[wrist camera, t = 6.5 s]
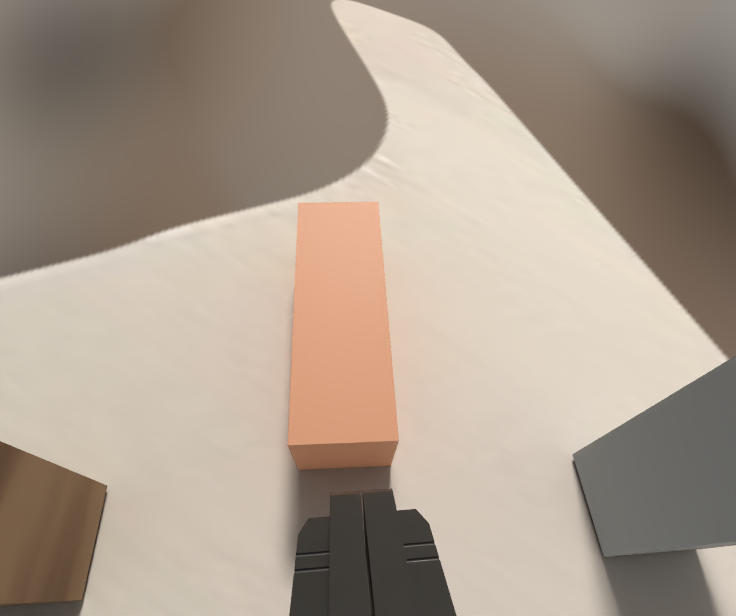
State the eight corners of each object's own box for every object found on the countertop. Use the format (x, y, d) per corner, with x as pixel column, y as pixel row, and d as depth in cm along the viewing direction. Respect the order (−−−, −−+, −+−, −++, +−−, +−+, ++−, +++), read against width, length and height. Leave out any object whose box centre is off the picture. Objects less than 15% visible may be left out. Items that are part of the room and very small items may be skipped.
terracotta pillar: (287, 445, 16) (298, 202, 22) (298, 469, 20) (305, 253, 26) (398, 440, 16) (378, 201, 23) (390, 465, 20) (374, 252, 26)
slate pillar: (603, 556, 18) (939, 516, 8) (572, 454, 20) (802, 315, 10) (699, 549, 18) (1147, 499, 8) (658, 448, 20) (970, 307, 10)
